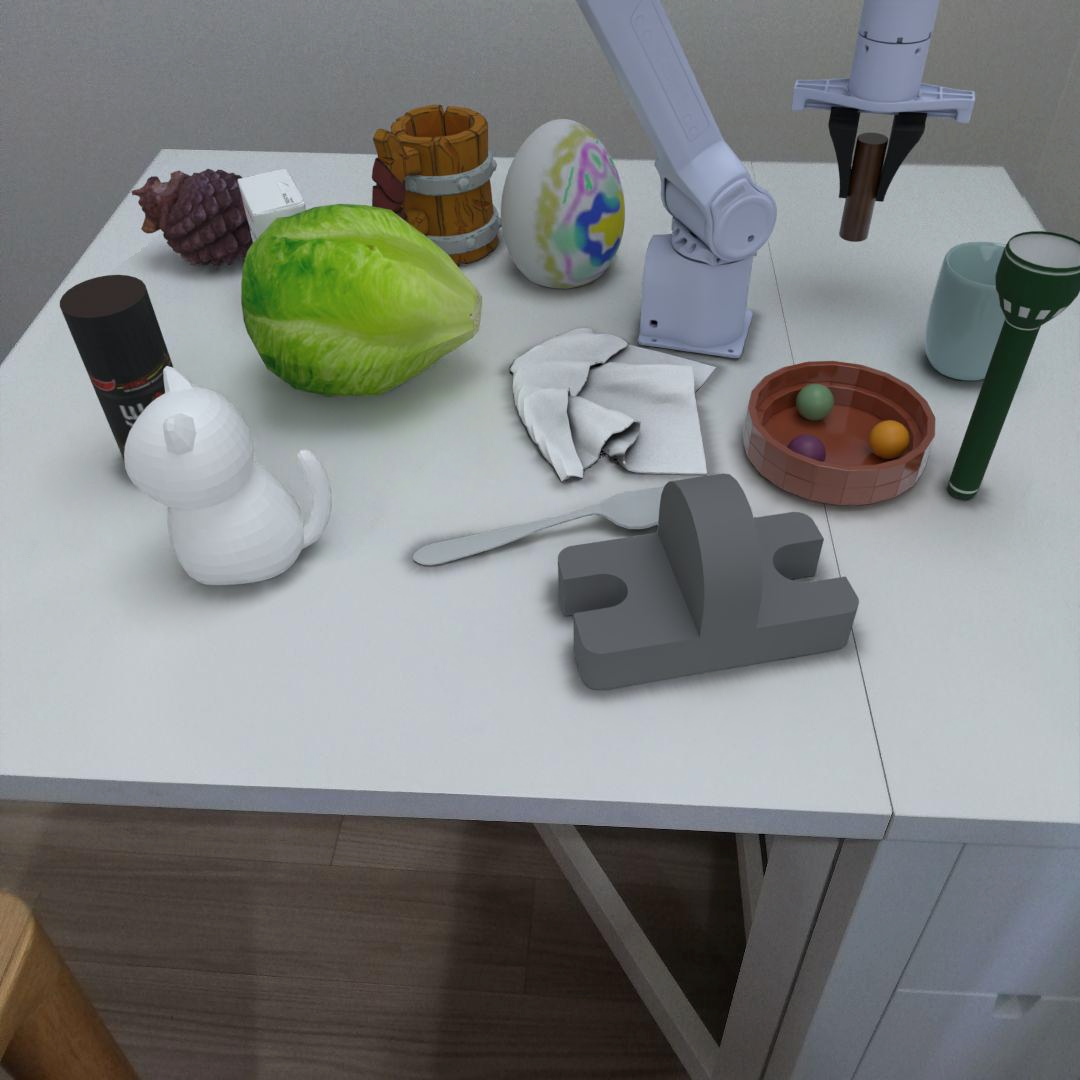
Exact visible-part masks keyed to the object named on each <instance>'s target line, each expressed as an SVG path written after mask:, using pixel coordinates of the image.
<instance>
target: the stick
mask: <svg viewBox="0 0 1080 1080" xmlns="http://www.w3.org/2000/svg"><path fill="white" fill-rule="evenodd" d="M888 144H889V137H888V136H886V135H885V134H883V133H879V132H863V133H860V134H858V135H857V136H856V141H855V146H854V151H853V156H852V166H851V173H850V181H849V189H848V194H847V199H846V198H844V199H845V200H844V206H843V211H842V216H841V220H840V227H839V230H838V231H839V232H838V236H839V237H840V238H841V239H842V240H844V241H847V242H852V243H859V242H864V241H866V240H867V239H868V237H869V233H870V228H871V224H872V219H873V215H874V209H875V205H876V201H875V200H876V194H877V189H878V185H879V181H880V177H881V172H882V168H883V164H884V160H885V157H886V153H887V149H888Z"/></svg>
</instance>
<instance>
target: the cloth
mask: <svg viewBox="0 0 1080 1080" xmlns="http://www.w3.org/2000/svg"><path fill="white" fill-rule="evenodd" d="M716 368H717V367H716V366H713V365H709V364H706V363H703V362H699V361H696V360H692V359H687V358H684V357H681V356H677V355H673V354H669V353H665V352H662V351H657V350H652V349H648V348H645V347H640V346H637V345H632V344H630V343H629V342H627V341H626V340H624V339H623V338H620V337H619V336H616V335H613V334H608V333H594V331H593V329H592V328H589V327H578V328H575V329H571V330H569V331H567V332H565V333H563V334H558V335H555V336H554V337H552V338H550V339H548V340H546V341H544V342H541V343H539V344H537V345H535V346H533V347H532V348H531V349H529V350H527V351H526V352H525V353H523V354H522V355H519V356H518V357H516V358H514V359H513V361H512V363H511V364H510V366H509V367H508V371H510V372H512V373H513V376H512V377H513V378H512V393H513V399H514V406H515V408H516V411H517V412H518V416H519V418H520V421H521V423H522V424H523V426H525V428H526V430H527V434H528V435H529V437H530V439H531V441H532V442H533V443H534V444H535V445H536V446H537V447H538V449H539V451H540V453H541V455H542V457H543V458H544V459H545V460H546V461H547V462H548V463H549V465H551V466H552V467H553V468H554V470H555V472H556V475H558V477H559V479H560V482H564V481H566V480H569V479H571V478H572V477H577V478H579V479H580V478H581V479H583V478H584V470H587V469H588V468H590V467H591V466H592V465H594V463H596V462H597V461H598V460H599V458H600V454H601V451H603V452H604V453H605V454H606V455H608V456H609V458H611V459H614V460H617V461H618V464H619V465H620V466H621V467H623V468H624V469H626V470H627V471H629V472H633V473H637V474H655V475H704V476H708V470H707V462H706V461H707V460H706V456H705V450H704V444H703V437H702V432H701V431H702V430H701V426H700V417H699V413H698V409H697V401H696V395H695V394H696V393H697V391H699V390H700V389H701V388H702V387H703V385H704V384H705V383H706V382H707V381H708V379H709V378H710V377H711V375H712V374H713V373H714V371H716Z"/></svg>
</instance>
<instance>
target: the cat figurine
mask: <svg viewBox="0 0 1080 1080" xmlns="http://www.w3.org/2000/svg"><path fill="white" fill-rule="evenodd" d="M173 367H174V366H173ZM173 367H169V366H166V367H165V368H164V370H163V374H164V387H165V394H163V395H161V396H160V397H158V398H156V399H155V400H154V401H152V402H151V403H150V404H149V405H148V406H147V407H146V408H145V409H144V411H143V412H142V413H141V414H140V416H139V417H138V418H137V420H136V422H135V423H134V425H133V427H132V428H131V430H130V432H129V435H128V438H127V441H126V444H125V451H124V459H123V462H124V461H125V462H124V469H125V471H126V473H127V476H128V478H129V479H130V481H131V482H132V484H133V485H134V486H135V487H137V488H138V489H139V490H140V491H141V492H142V493H144V494H145V496H147V497H148V498H150V499H152V500H153V501H155V502H157V503H159V504H161V505H164V506H166V507H167V517H166V519H167V520H166V522H167V530H168V535H169V539H170V543H171V546H172V548H173V551H174V553H175V556H176V558H177V561H178V562H179V564H180V566H181V567H182V569H183V570H184V572H185V573H186V574H187V575H188V576H189V577H190V578H192V579H193V580H194V581H196V582H198V583H200V584H202V585H209V586H231V585H242V584H252V583H258V582H262V581H267V580H270V579H272V578H275V577H277V576H280V575H281V574H283V573H284V572H287V570H288V569H290V568H291V567H292V566H293V565H294V564H295V562H296V560H297V559H298V557H299V556H300V554H301V552H302V550H304V549H306V548H308V547H310V546H311V545H313V544H314V543H315V542H317V541H318V539H319V538H320V537H321V536H322V534H323V533H324V531H325V529H326V528H327V525H328V522H329V520H330V516H331V512H332V511H331V510H332V498H333V497H332V495H333V494H332V493H333V492H332V485H331V484H332V483H331V480H330V478H329V477H330V476H329V473H328V472H327V471H328V470H327V469H326V467H325V466H324V464H323V462H322V460H321V459H320V458H319V457H318V456H317V455H316V454H315V453H313V452H312V451H310V450H308V449H300V450H299V451H298V452H297V454H296V455H297V456H296V460H297V463H298V466H299V467H300V469H301V471H302V474H303V475H304V477H305V479H306V481H307V483H308V485H309V488H310V491H311V492H310V493H311V499H312V500H311V509H310V512H309V515H308V517H307V520H306V522H305V523H304V522H303V514H302V510H301V506H300V505H299V502H298V501H297V499H296V497H295V495H294V494H292V492H291V491H290V490H289V489H288V488H287V486H286V485H285V484H284V483H283V482H282V481H281V480H280V478H278V477H277V476H276V475H275V474H274V473H272V471H271V470H269V469H268V468H267V467H266V466H264V465H262V464H260V463H259V462H257V461H255V452H256V450H255V444H254V439H253V436H252V433H251V430H250V429H249V426H248V424H247V423H246V421H245V419H244V417H243V416H242V415H241V413H240V411H239V410H238V409H237V408H236V407H235V406H234V404H232V403H231V402H230V401H229V400H228V399H227V398H225V397H224V396H223V395H222V394H220V393H218V392H216V391H214V390H211V389H208V388H204V387H201V386H200V387H199V386H195V385H194V383H193V382H192V381H191V380H190V379H189V378H188V377H187V376H186V375H184V374H183V373H182V372H180V371H179V370H178V369H176V368H175V367H174V368H173Z"/></svg>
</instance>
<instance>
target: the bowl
mask: <svg viewBox="0 0 1080 1080" xmlns="http://www.w3.org/2000/svg"><path fill="white" fill-rule="evenodd" d="M810 384H821V385H824V386H825V387H827V388H828V389H829V390H830V391H831V393H832V395H833V398H834V405H833V409H832V411H831V412H830V414H829V415H828V416H827V417H825V418H823V419H821V420H817V421H811V420H807V419H805V418H803V417H802V416H801V415H800V414H799V412H798V411H797V408H796V398H797V395H798V393H799V392H800V391H801V390H802V389H803V388H804V387H805V386H807V385H810ZM887 420H892V421H897V422H899V423H901V424H902V425H903V426H904V427H905V428H906V429H907V431H908V433H909V445H908V447H907V449H906V451H905V452H904V453H903V454H902V455H900V456H899V457H896V458H893V459H883V458H880V457H878V456H877V455H875V454H874V453H873V452H872V450H871V448H870V446H869V435H870V432H871V430H872V429H873V428H874V427H875V426H876V425H877V424H879V423H880V422H883V421H887ZM806 434H807V435H813V436H815V437H817V438H818V439H820V440H821V441H822V443H823V444H824V446H825V450H826V458H825V461H824V462H822V461H817V460H815V459H812V458H809V457H807V456H804V455H801V454H799V453H796V452H794V451H792V450H790V449H789V448H787V446H788V444H789V443H790V442H791V441H792V440H793V439H794V438H795V437H797V436H800V435H806ZM935 437H936V416H935V414H934V412H933V410H932V409H931V407H930V404H929V402H928V401H927V400H926V398H924V397H923V396H922V395H921V394H920V393H919V392H918V391H917V390H916V389H915V388H914V387H912V385H910V383H909V384H908V383H907V382H905V381H903V380H901V379H900V378H898V377H896V376H894V375H892V374H890V373H888V372H885V371H883V370H879V369H877V368H874V367H870V366H867V365H864V364H858V363H854V362H853V363H852V362H846V361H845V362H844V361H838V360H816V361H815V360H814V361H804V362H800V363H795V364H791V365H787V366H783V367H781V368H779V369H777V370H775V371H773V372H771V373H769V374H767V375H765V376H764V377H763V378H762V379H761V380H760V381H759V382H758V383H757V384H756V385H755V386H754V388H753V389H752V390H751V392H750V396H749V400H748V404H747V409H746V416H745V421H744V429H743V436H742V443H743V446H744V447H743V448H744V451H745V454H746V457H747V459H748V461H749V462H750V463H751V464H752V465H753V467H754V468H755V469H756V471H757V472H758V473H759V475H761V476H762V477H763V478H765V479H766V480H768V481H769V482H771V483H772V484H774V485H775V486H777V487H778V488H779V489H781V490H783V491H786V492H789V493H790V494H793V495H795V496H798V497H799V498H803V499H806V500H809V501H813V502H817V503H822V504H828V505H835V506H857V505H858V506H859V505H871V504H875V503H879V502H883V501H887V500H890V499H894V498H896V497H898V496H899V495H901V494H902V493H904V492H907V490H909V489H911V488H912V487H913V486H915V485H916V484H917V481H918V480H919V479H920V477H921V476H922V474H923V472H924V471H925V468H926V465H927V462H928V459H929V455H930V453H931V449H932V446H933V443H934V440H935Z"/></svg>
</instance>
